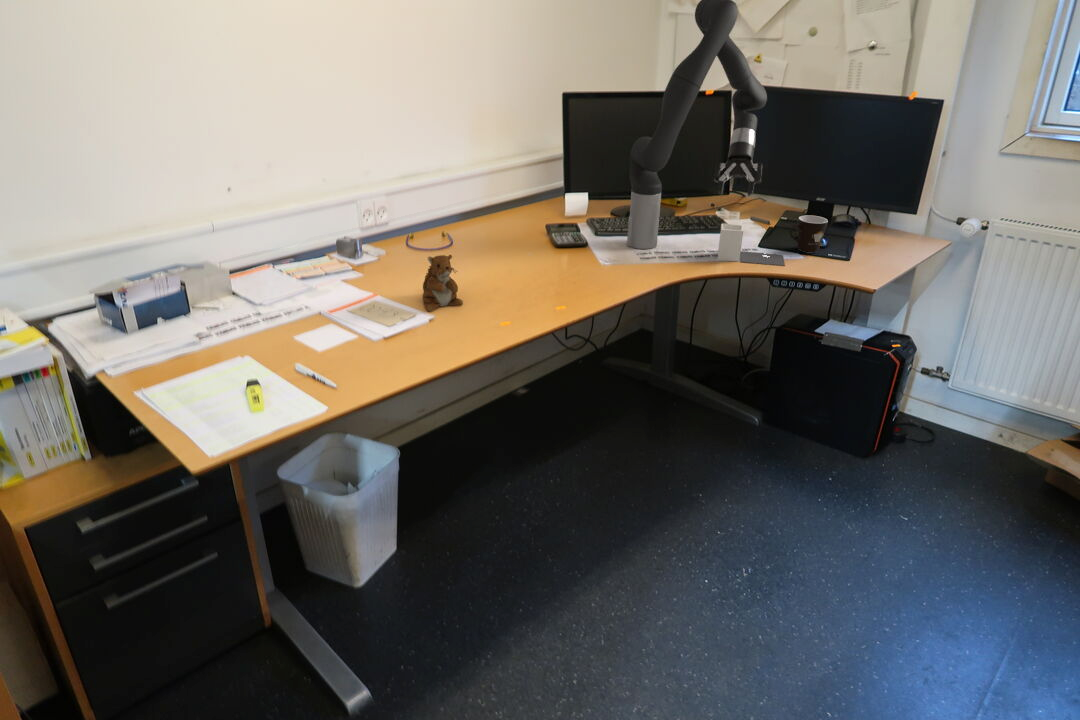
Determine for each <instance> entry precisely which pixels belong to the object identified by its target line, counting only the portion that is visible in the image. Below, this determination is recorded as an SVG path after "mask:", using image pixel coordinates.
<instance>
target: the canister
mask: <svg viewBox="0 0 1080 720" xmlns="http://www.w3.org/2000/svg"><path fill="white" fill-rule="evenodd" d="M720 226H721V227H720V234H719V241H718V242H719V243H718V249H717V260H719V261H727V260H731V262H740V252H741V251H742V244H743V237H744V225H743V224H735V223H734V224H732V223H721V225H720Z"/></svg>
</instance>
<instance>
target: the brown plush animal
mask: <svg viewBox="0 0 1080 720" xmlns="http://www.w3.org/2000/svg"><path fill="white" fill-rule="evenodd" d="M452 258H453V255H452V254H448V255H444V254H442V255H435V256H434V257H432V256H427V260H428V262H429V264H430V265H429V268H427V272H426V273H425V274H426V275H425V277H424V281H423V283H422V291H423V293H422V302H423V307H424V309H425V310H426V311H427V312H428V313H429V312H433V311H435V310H436V309H437V308H438V307H446V306H448V305H449V306H458V307H459V306H463V305H464V301H463V300H462V299H461V298H458V295H457V293H458V291H459V290H458V289H459V286H458V283H457V282H456V281H455V280H454V279H453V278H452V277H451V276H450V275H451V274H452V272H454V274H456V273H458V270H456V269H455V268H453V267H452V264H451V261H450V260H451V259H452Z"/></svg>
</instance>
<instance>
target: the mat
mask: <svg viewBox="0 0 1080 720" xmlns="http://www.w3.org/2000/svg"><path fill="white" fill-rule="evenodd" d="M764 253H766V252H754V251H743V250H741V252H740V259H739V262H740V263H744V264H745V263H746V264H755V263H756V264H757V265H767V264H769V265H770V266H771V265H772V266H779V265H780V267H781V266H782V267H785V266H786V264H785V257H784V254H780V253H779V254H777V253H768V252H767V253H766V254H764ZM762 255H767V256H770V257H768V258H767V257H763V256H762Z"/></svg>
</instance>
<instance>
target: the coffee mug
mask: <svg viewBox="0 0 1080 720" xmlns="http://www.w3.org/2000/svg"><path fill="white" fill-rule="evenodd" d="M828 223H829V221H828V219H827V218H825V217H822V216H817V215H807V214H806V215H801V216H799V217H798V224H795V225H792V226H791V227H790V229H789V235H790V237H791V238H792V239H793V240H794V241H795V242H797V245H796V249H797V248H798V249H799V250H802V251H805V252H815V251H818V250H819V251H820V248H821V244H822V242H823V241H822V240H823V238H824V235H825V232H826V229H827V225H828ZM794 228H797V229H798V230H797V238H796V237H795V236H793V232H792V231H793V229H794ZM819 251H818V252H819Z"/></svg>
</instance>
